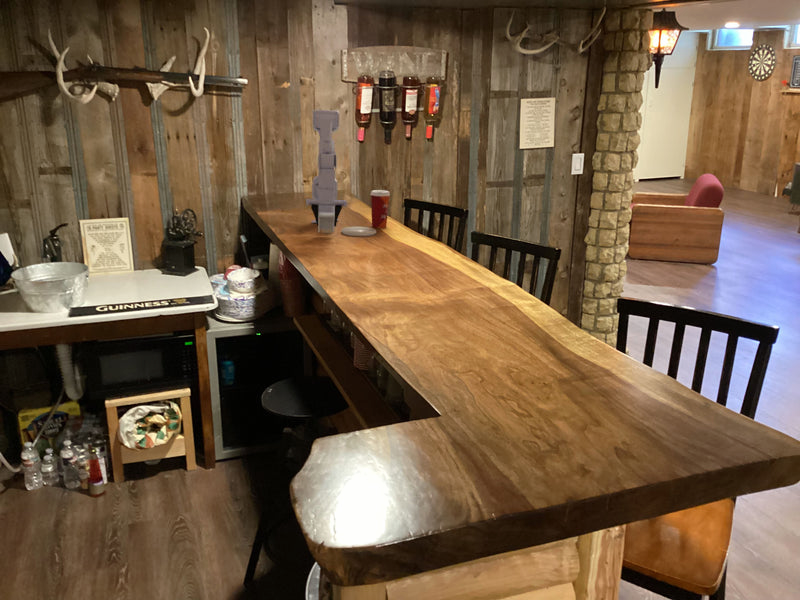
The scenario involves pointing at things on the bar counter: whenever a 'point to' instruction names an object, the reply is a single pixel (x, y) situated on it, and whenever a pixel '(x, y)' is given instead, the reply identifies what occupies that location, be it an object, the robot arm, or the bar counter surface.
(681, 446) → the bar counter surface
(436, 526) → the bar counter surface
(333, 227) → the grey open box
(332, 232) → the maple block
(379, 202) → the paper cup
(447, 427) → the bar counter surface
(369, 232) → the ceramic dish
